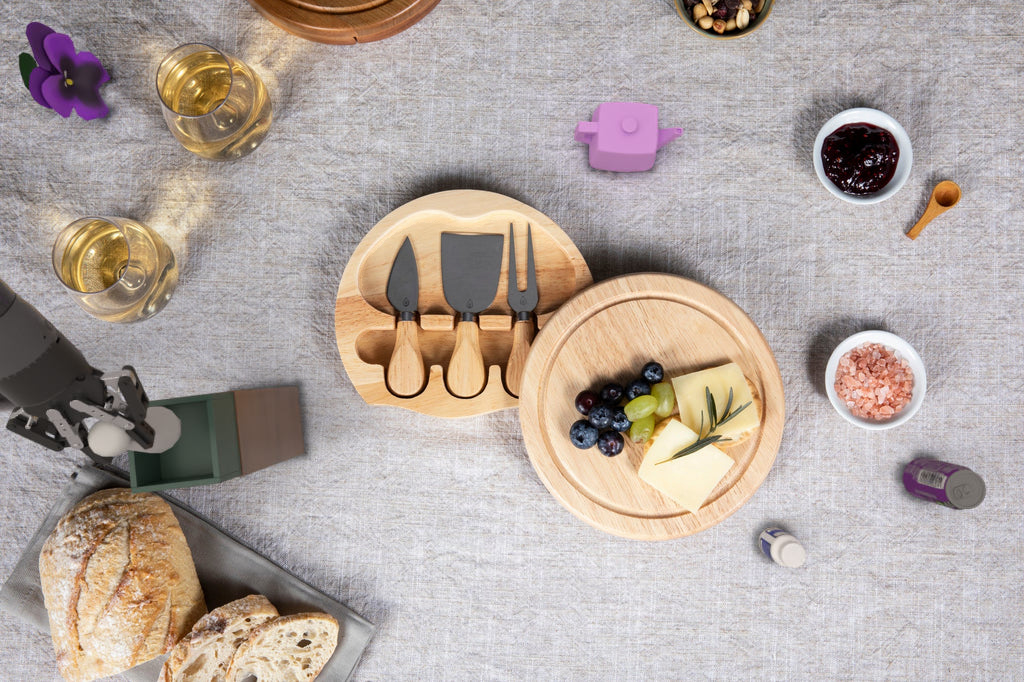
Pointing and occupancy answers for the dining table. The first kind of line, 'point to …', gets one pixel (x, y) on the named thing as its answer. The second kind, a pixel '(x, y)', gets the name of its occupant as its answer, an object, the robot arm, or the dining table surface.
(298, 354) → the dining table surface
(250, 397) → the stand
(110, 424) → the salt shaker
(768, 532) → the pill bottle
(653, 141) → the teapot
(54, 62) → the flower
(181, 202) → the dining table surface
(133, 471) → the bin
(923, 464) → the beverage can
